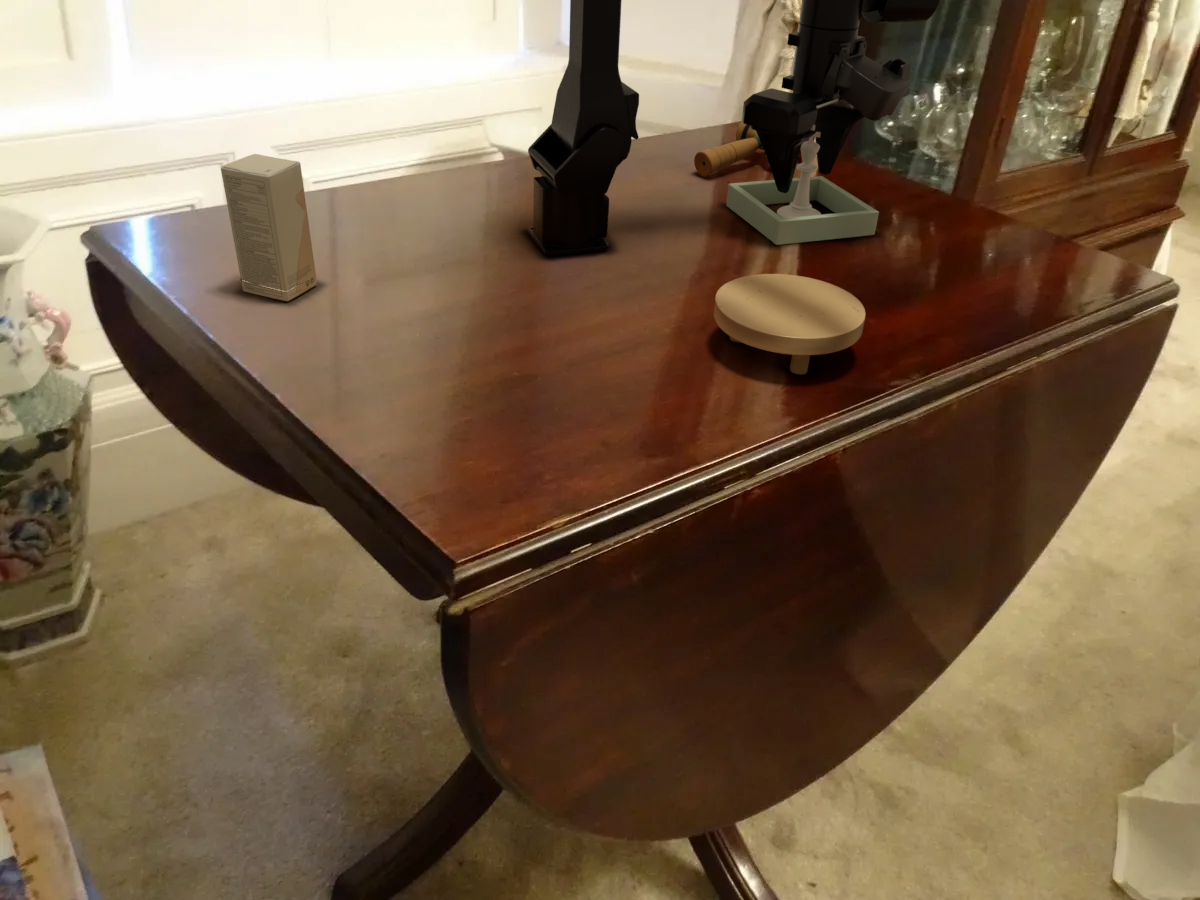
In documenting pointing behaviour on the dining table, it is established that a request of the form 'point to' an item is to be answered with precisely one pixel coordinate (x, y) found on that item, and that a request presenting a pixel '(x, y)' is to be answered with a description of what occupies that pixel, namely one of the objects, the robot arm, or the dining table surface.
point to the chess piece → (803, 182)
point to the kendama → (729, 151)
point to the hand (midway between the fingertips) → (804, 182)
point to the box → (270, 225)
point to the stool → (789, 316)
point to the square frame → (843, 223)
